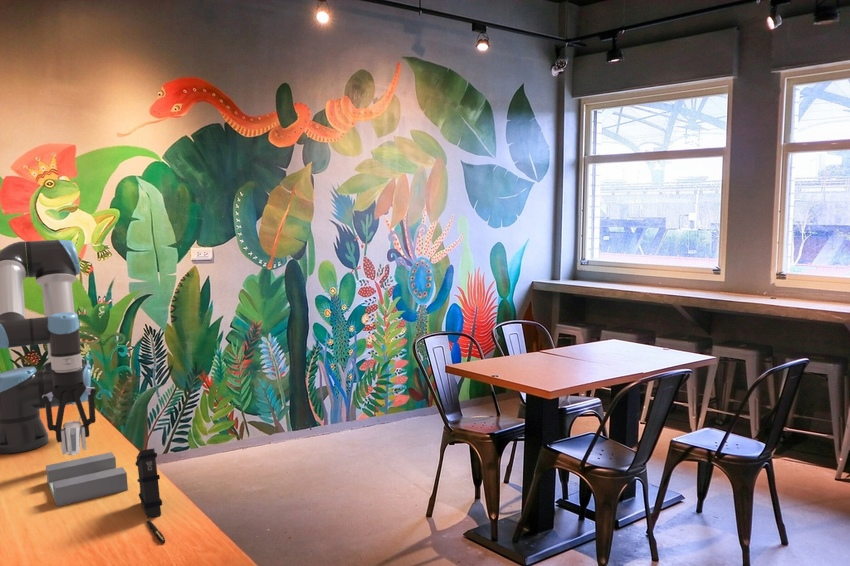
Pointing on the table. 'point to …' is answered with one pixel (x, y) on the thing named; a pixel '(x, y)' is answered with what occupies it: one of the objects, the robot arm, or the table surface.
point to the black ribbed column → (149, 482)
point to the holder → (85, 478)
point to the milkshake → (72, 436)
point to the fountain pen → (156, 531)
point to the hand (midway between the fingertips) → (74, 450)
